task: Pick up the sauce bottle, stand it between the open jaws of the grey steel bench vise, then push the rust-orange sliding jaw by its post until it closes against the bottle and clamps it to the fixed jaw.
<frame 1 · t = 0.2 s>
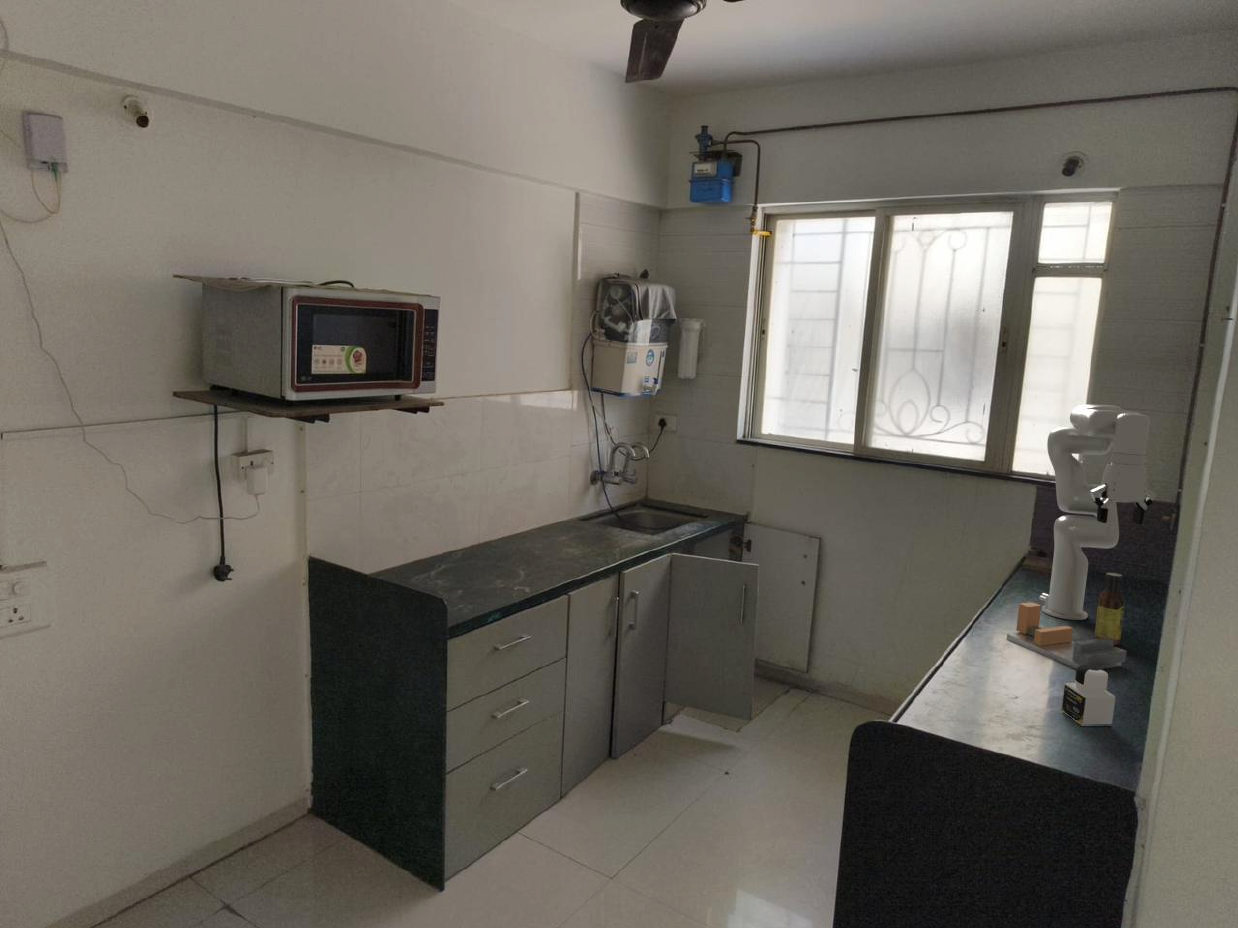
hand: (1119, 522, 213), 36 cm above the countertop, tool pointing down, fingers open, 9 cm apart
vise base: (1067, 654, 214), on the countertop
medicine bottle: (1085, 720, 176), on the countertop
sauce bottle: (1106, 642, 225), on the countertop
sliding jaw: (1040, 622, 222), point 6 cm above the countertop, slide at 0.0 cm
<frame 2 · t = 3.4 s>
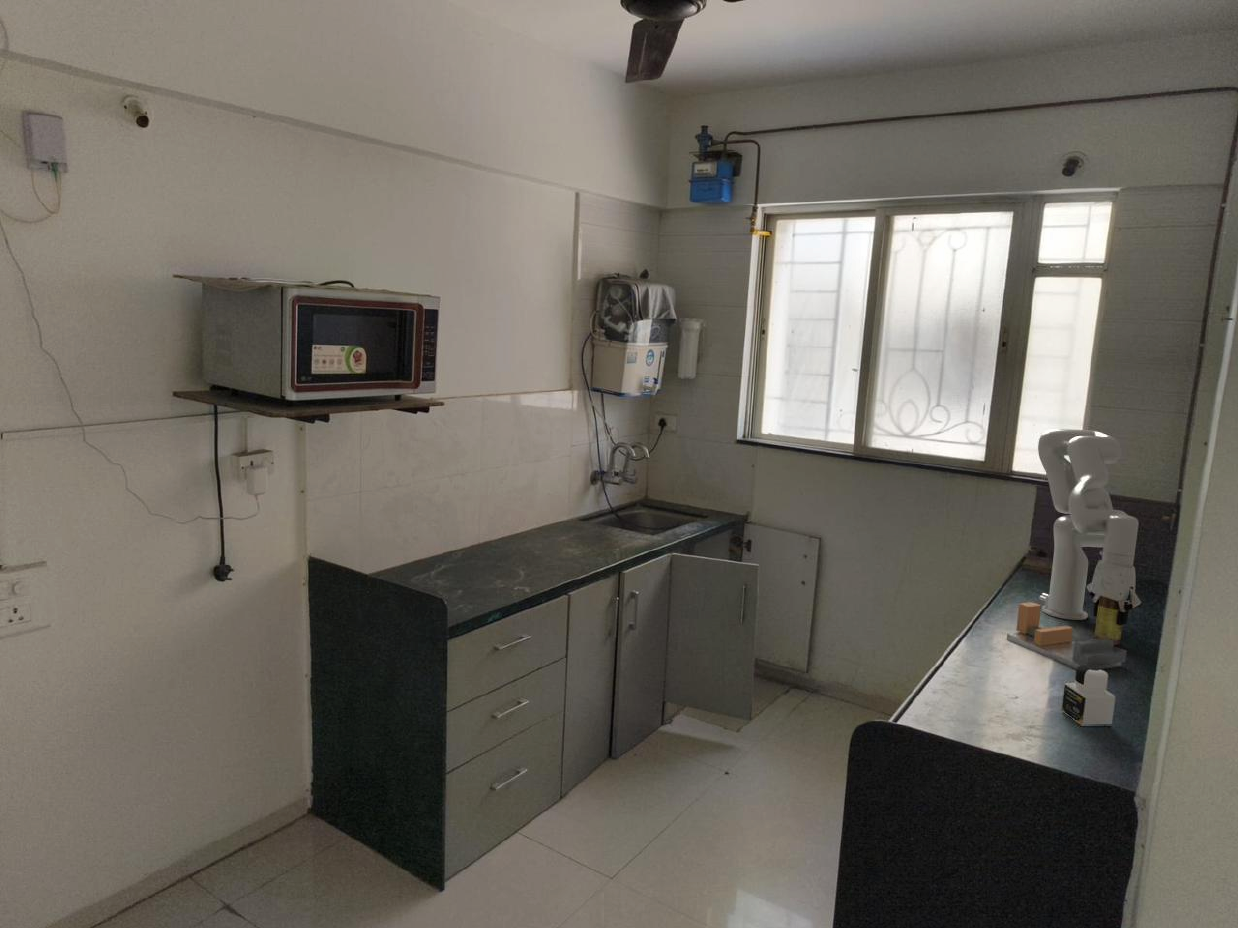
hand: (1109, 619, 224), 7 cm above the countertop, tool pointing down, fingers closed on sauce bottle, 6 cm apart
sauce bottle: (1106, 642, 225), on the countertop, touching gripper
everything else where it was.
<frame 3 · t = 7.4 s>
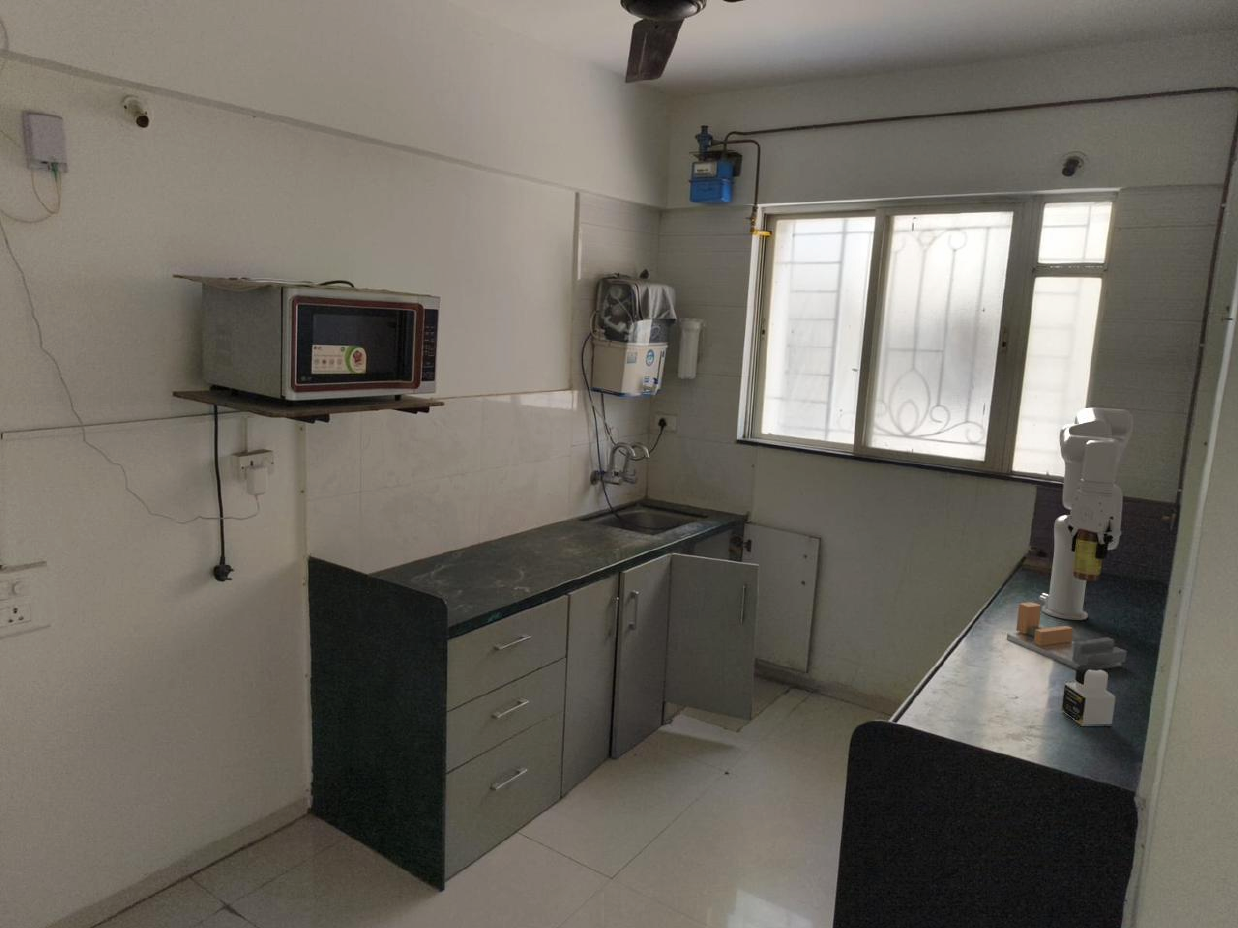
hand: (1088, 554, 208), 29 cm above the countertop, tool pointing down, fingers closed on sauce bottle, 6 cm apart
sauce bottle: (1085, 579, 209), point 22 cm above the countertop, touching gripper
everything else where it was.
when the fingers open (9 cm above the countertop, at t = 11.4 s): sauce bottle stays where it is, resting on vise base.
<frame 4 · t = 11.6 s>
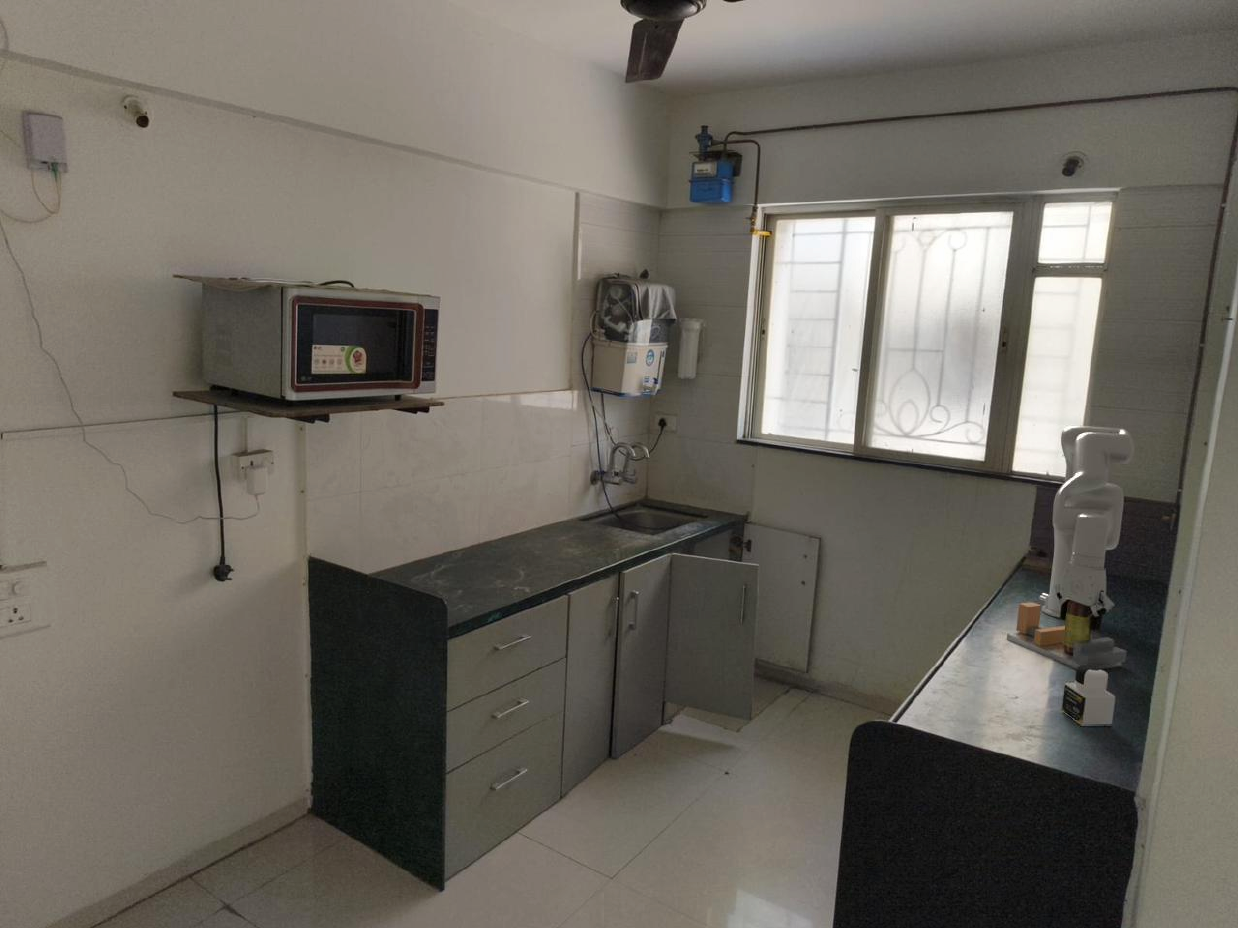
hand: (1079, 623, 211), 9 cm above the countertop, tool pointing down, fingers open, 8 cm apart
sauce bottle: (1075, 652, 213), point 1 cm above the countertop, touching vise base
everything else where it was.
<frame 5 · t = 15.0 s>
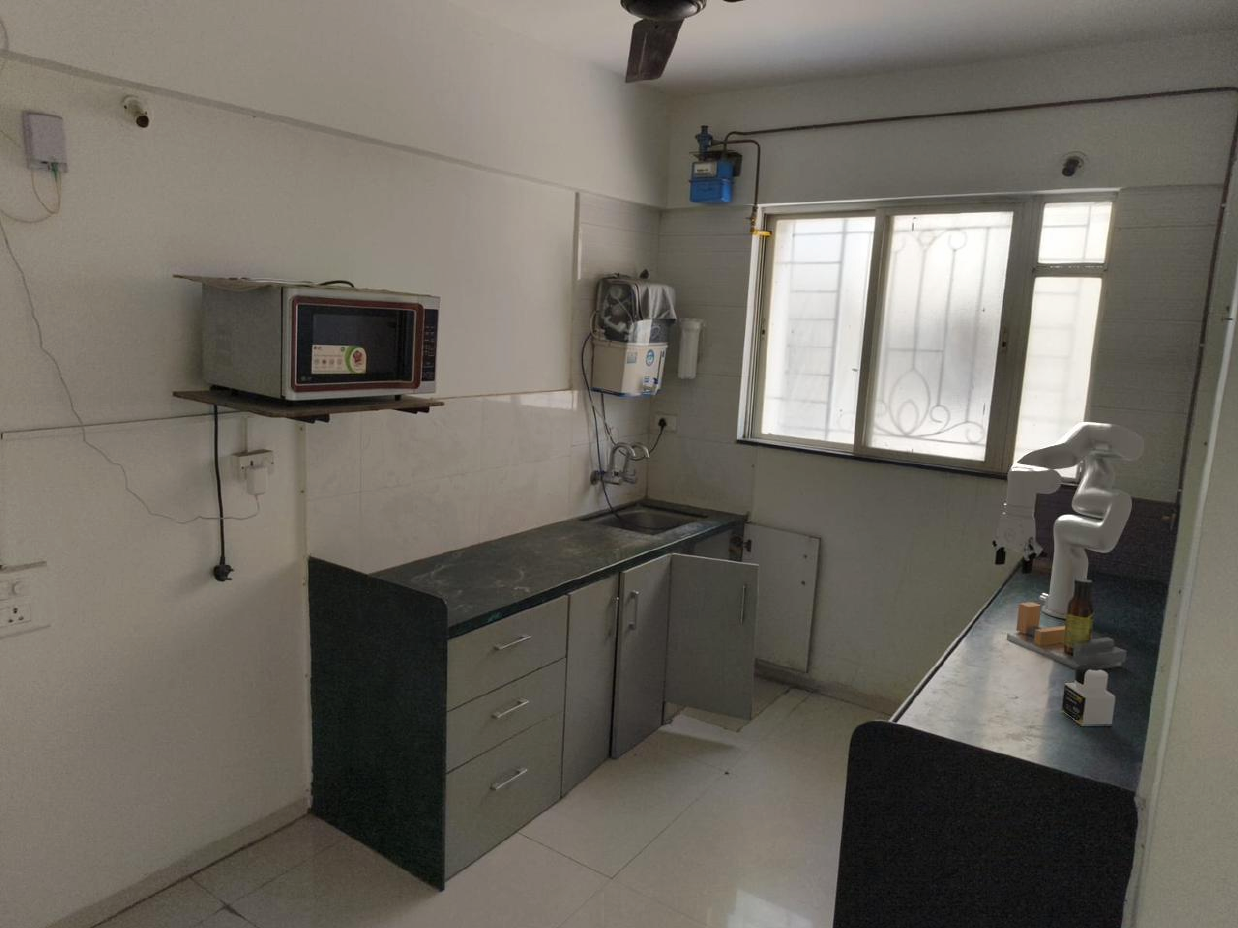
hand: (1012, 568, 231), 18 cm above the countertop, tool pointing down, fingers open, 9 cm apart
nothing on the countertop moved.
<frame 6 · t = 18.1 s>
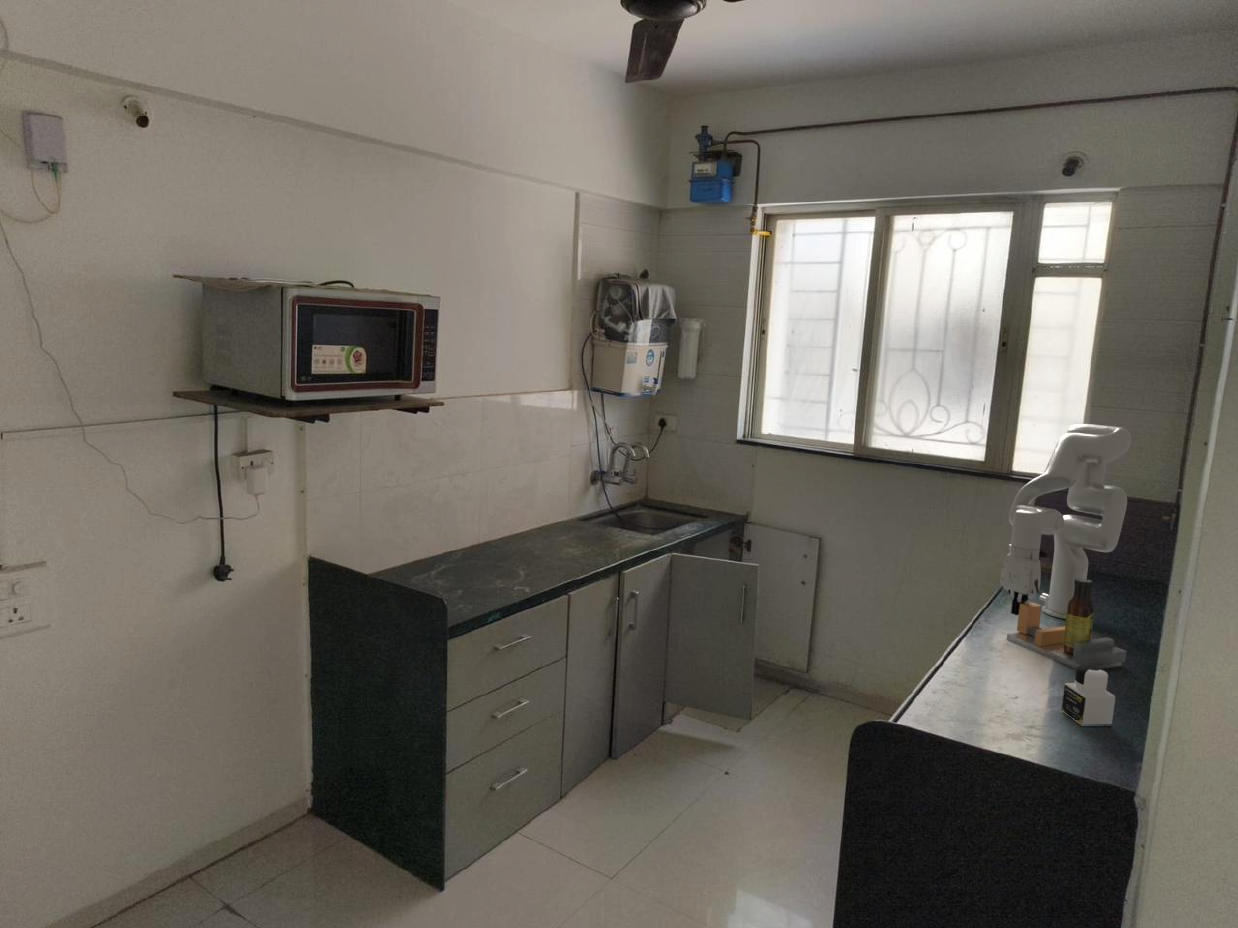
hand: (1017, 613, 230), 6 cm above the countertop, tool pointing down, fingers closed
sliding jaw: (1041, 623, 222), point 6 cm above the countertop, slide at 0.2 cm, touching gripper
everything else where it was.
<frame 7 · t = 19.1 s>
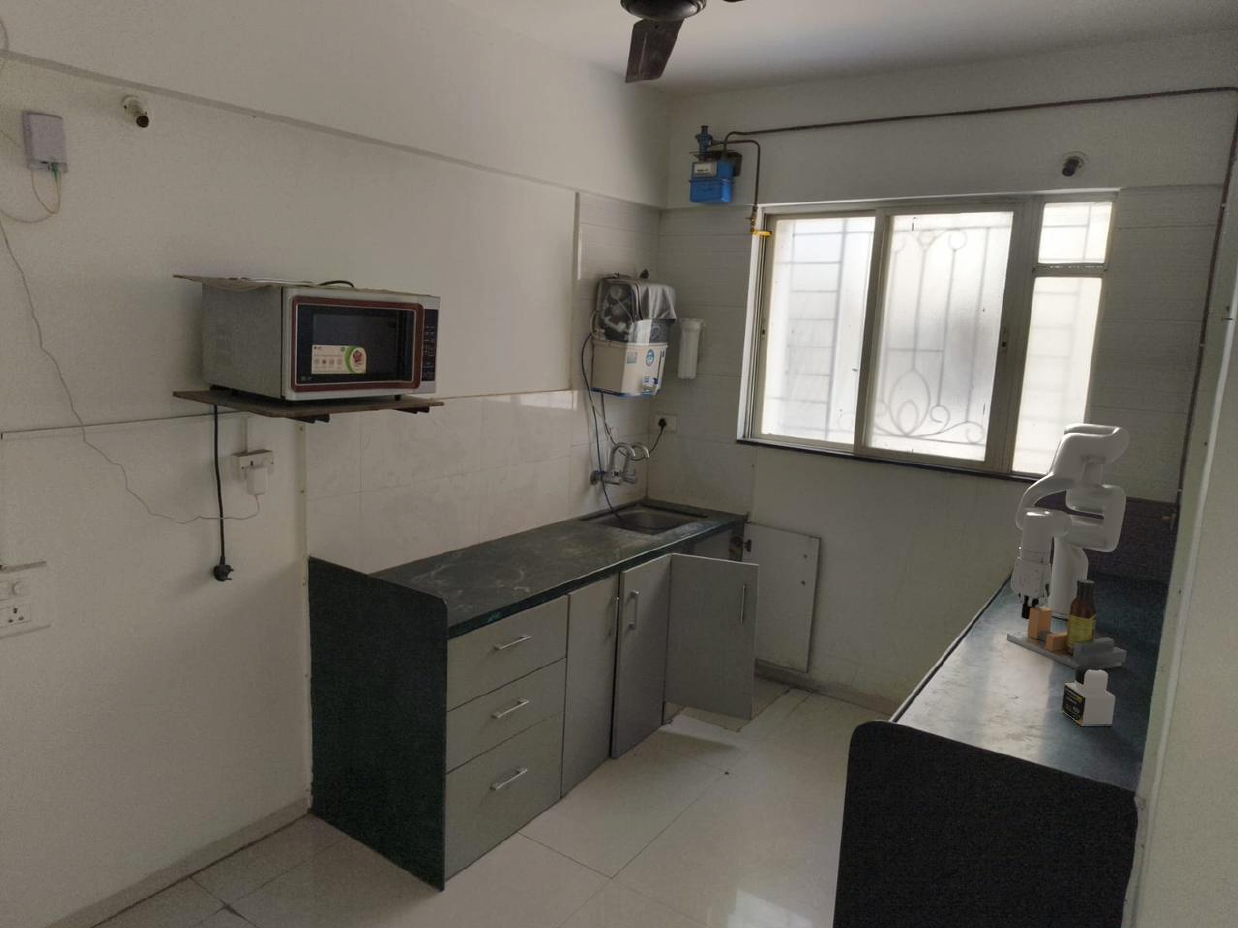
hand: (1027, 617, 226), 6 cm above the countertop, tool pointing down, fingers closed
sauce bottle: (1078, 653, 212), point 1 cm above the countertop, touching sliding jaw, vise base
sliding jaw: (1052, 627, 219), point 6 cm above the countertop, slide at 3.8 cm, touching gripper, sauce bottle
everything else where it was.
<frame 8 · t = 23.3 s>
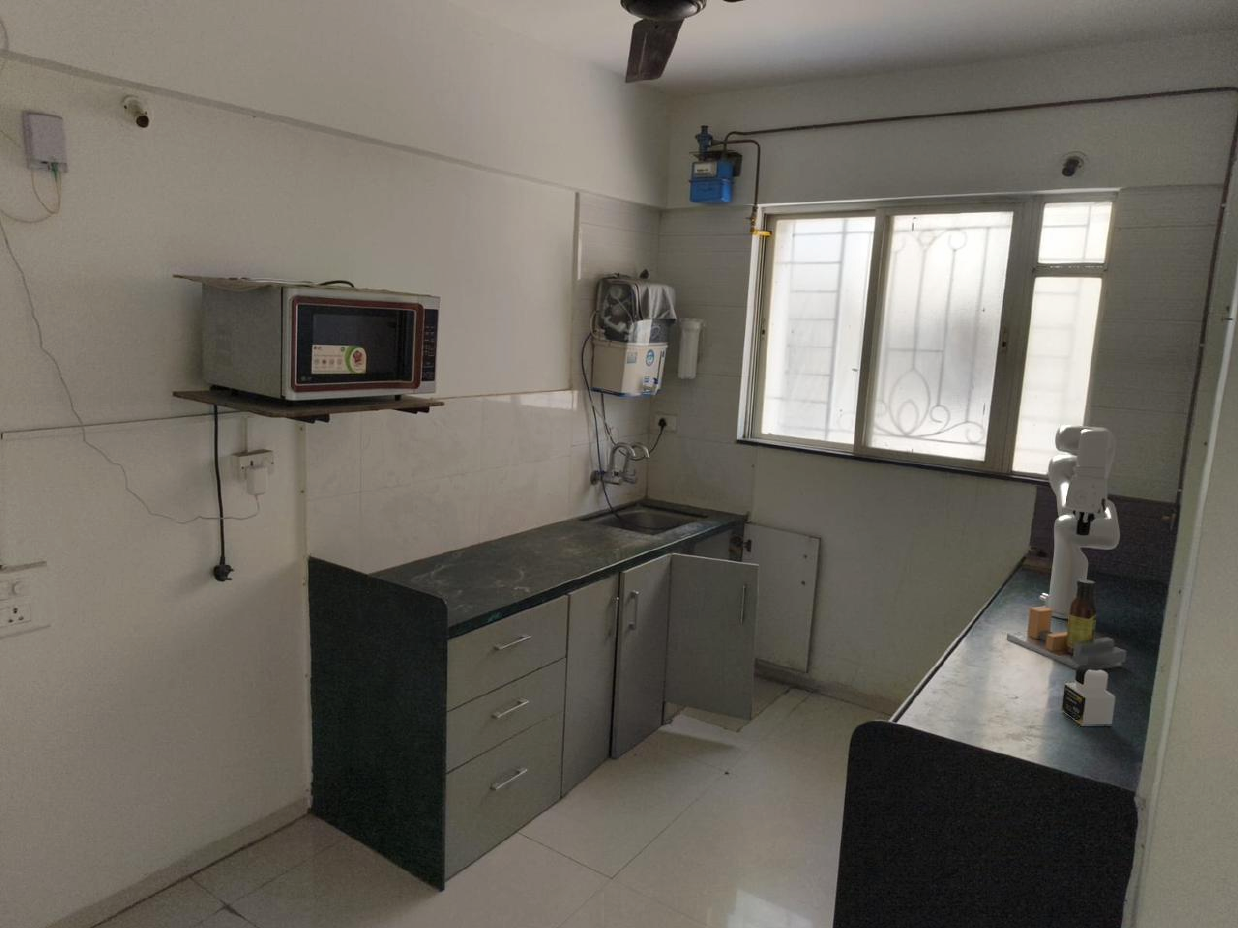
hand: (1082, 534, 230), 29 cm above the countertop, tool pointing down, fingers closed
sauce bottle: (1078, 653, 212), point 1 cm above the countertop, touching vise base
sliding jaw: (1052, 627, 219), point 6 cm above the countertop, slide at 3.8 cm
everything else where it was.
at the end: sauce bottle 0.1 cm from the target spot on the vise base, point 1.3 cm above the vise base's base; sauce bottle tilted 0°; sliding jaw slide at 3.8 cm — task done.
